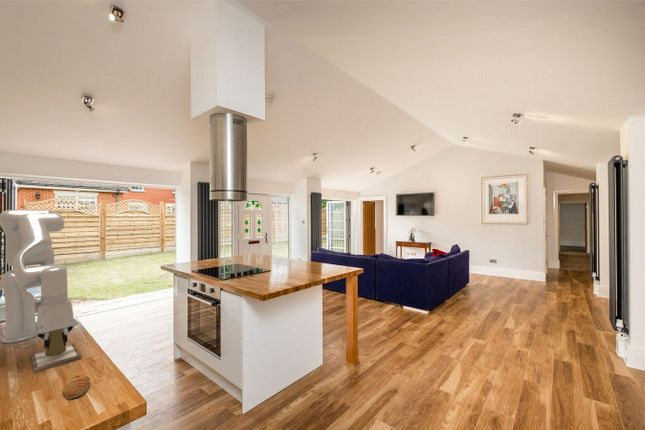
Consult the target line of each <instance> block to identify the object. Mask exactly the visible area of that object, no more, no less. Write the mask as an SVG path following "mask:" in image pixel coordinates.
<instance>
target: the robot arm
mask: <svg viewBox="0 0 645 430" xmlns="http://www.w3.org/2000/svg"><path fill="white" fill-rule="evenodd" d="M0 227H1V229H2V231H3V232H4V236H5V257H6V258H5V259H6V263H7V265H8V266H9V267H12V269H11V270H8V271H6V272H5V273H3V274H2V276H1V278H0V279H1V285H2V289H3V293H4V306H5V307H4V308H5V310H4V311H5V336H4V337H2V338H1V339H0V341H1V343H3V344H13V343H19V342H23V341H27V340H30V339H33V338H36V337H38V338H39V339H42V340H43V348H44V349H46V348H47V347H48V350H49V346H50V340H49V333H48V332H51V331H54V330H58V329H63V328H64V329H63V342H64V346H65V345H67V343H68V342H69V341H68V335H69V334H70V332H71V331H72V330H73V329H74V328H75V327H77V326H78V325H79V324H80V323H79V321H78V320H77V319H76V318H74V311H73V310H74V309H73V305H72V301H71V300H70V299H68V297H69V295H68V293H69V292H68V291H69V290H68V270H67V267H65V266H63V265H62V264H60V263H55V250H54V249H53V246H52V244H53V240H52V236H51V234H50V233H51V232H60V231H62V230H63V229H64V227H65V220H64V217H63V216H62V215H61V214H60V213H59V212H58V211H55V210H52V209H47V208H46V209H35V208H34V209H30V208H29V209H28V208H25V209H22V208H21V209H20V208H18V209H7V210H4V211H2V212H1V213H0ZM32 265H33V266H32ZM34 265H35V266H34ZM27 266H28V267H27ZM39 287H40V294H41V295H40V297H39V298H38V299H35V295H34V294H32V293H31V292H29V291H28V290H29V289H32V288H33V289H34V288H39ZM38 303H39V305H38V309H37V316H36V304H38Z"/></svg>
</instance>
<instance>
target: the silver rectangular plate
mask: <svg viewBox="0 0 645 430" xmlns="http://www.w3.org/2000/svg"><path fill="white" fill-rule="evenodd" d="M65 346H66V351H65V352H63V353H61V354H58V355H55V356H45V353H46V349H45V350H42V351H39V352H34V353H30V359H31V363H32V368H33V369H32V370H33V373H34V374H35V373H39V372H43V371H46V370H48V369H52V368H56V367H58V366H62V365H65V364H69V363H72V362H76V361H79V360H81V359H82V356H81V353H80V352H79V350H78V348H77V347H76V345H75V344H74V343H69V344H66V345H65Z"/></svg>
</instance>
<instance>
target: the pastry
mask: <svg viewBox="0 0 645 430" xmlns="http://www.w3.org/2000/svg"><path fill="white" fill-rule="evenodd" d="M90 381H91V379H90V377H88V376H86V375H85V374H77V375H74V376H72V377H69V379H67V381H66V382H65V384H64V385H63V387H62V394H63V395H64V398H66V399H67V400H72V399H74V398H78V397H81V396H83V395H84V394H85V392H87V390H88V389H89V387H90V384H91V383H90Z"/></svg>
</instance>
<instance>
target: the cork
mask: <svg viewBox="0 0 645 430" xmlns="http://www.w3.org/2000/svg"><path fill="white" fill-rule="evenodd" d="M63 329H64V328H63ZM63 329H58V330H54V331H51V332H48V333H49V340H50V346H49V350H48V347H47V348H45V350H46V353H45V356H55V355H58V354H61V353H63V352H65V351H66V346H64V342H63Z"/></svg>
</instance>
